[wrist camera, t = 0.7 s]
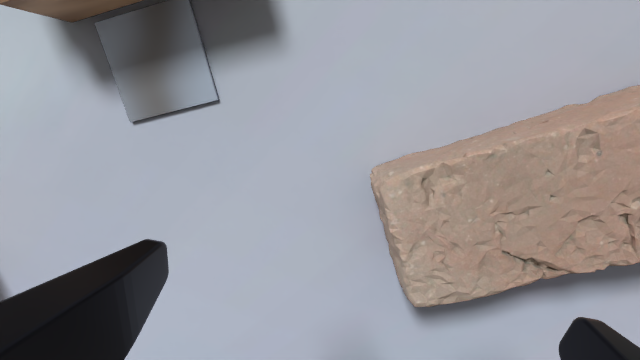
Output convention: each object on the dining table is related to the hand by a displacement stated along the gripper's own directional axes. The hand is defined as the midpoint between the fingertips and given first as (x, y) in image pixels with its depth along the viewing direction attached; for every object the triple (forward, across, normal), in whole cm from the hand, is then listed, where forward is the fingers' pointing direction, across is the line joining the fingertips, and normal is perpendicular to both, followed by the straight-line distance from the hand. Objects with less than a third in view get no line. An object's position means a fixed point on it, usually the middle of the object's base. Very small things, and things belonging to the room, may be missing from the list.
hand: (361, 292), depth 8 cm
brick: (+15, -10, +3) cm, 18 cm away
